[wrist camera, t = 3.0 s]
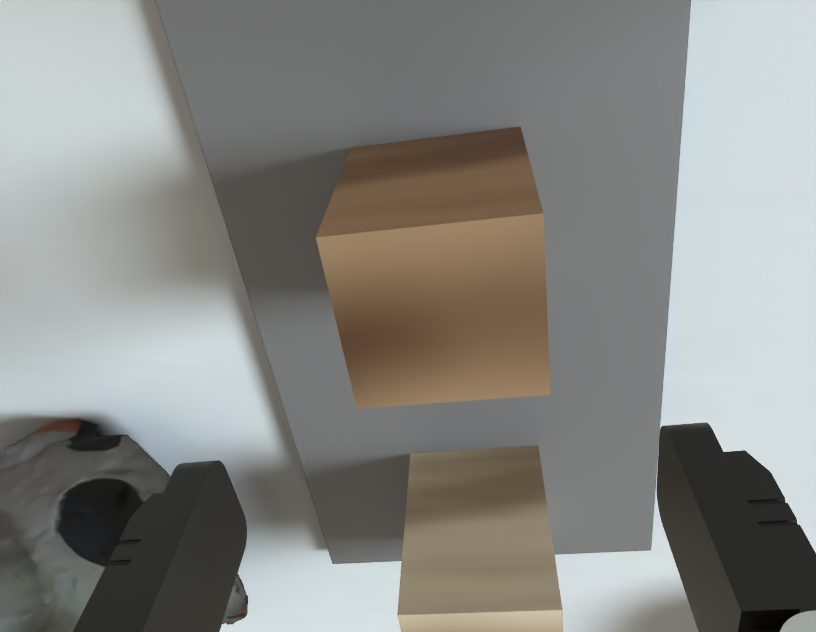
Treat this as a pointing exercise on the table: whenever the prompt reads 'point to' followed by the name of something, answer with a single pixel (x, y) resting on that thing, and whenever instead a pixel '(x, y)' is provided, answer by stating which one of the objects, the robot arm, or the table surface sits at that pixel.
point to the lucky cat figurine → (70, 521)
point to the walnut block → (439, 270)
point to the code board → (560, 199)
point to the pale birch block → (478, 544)
